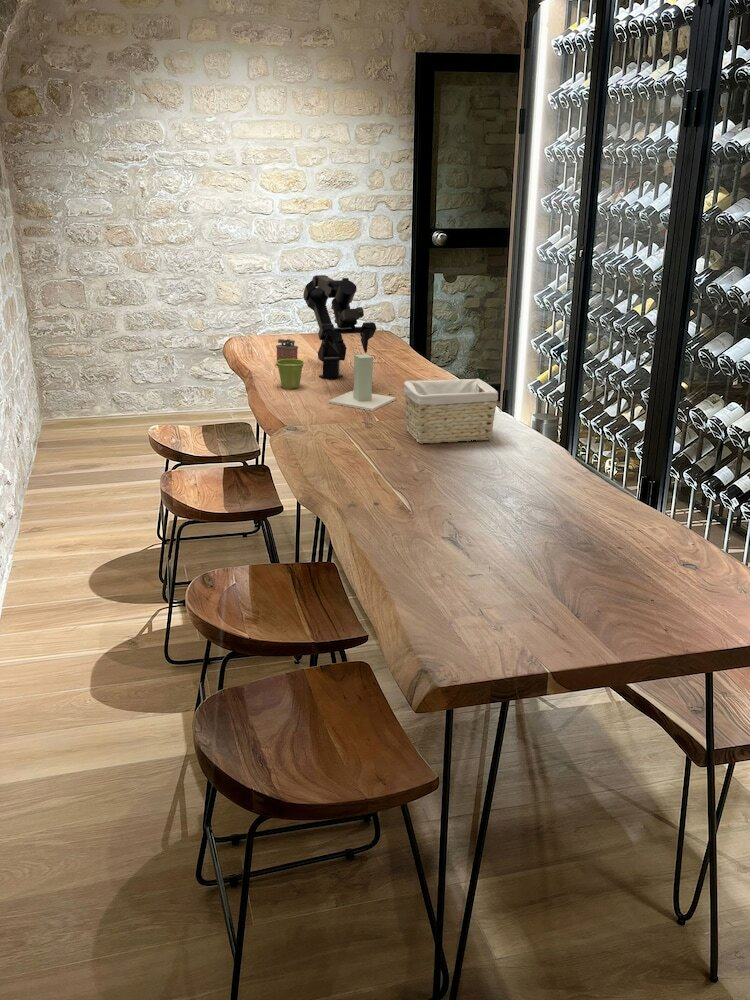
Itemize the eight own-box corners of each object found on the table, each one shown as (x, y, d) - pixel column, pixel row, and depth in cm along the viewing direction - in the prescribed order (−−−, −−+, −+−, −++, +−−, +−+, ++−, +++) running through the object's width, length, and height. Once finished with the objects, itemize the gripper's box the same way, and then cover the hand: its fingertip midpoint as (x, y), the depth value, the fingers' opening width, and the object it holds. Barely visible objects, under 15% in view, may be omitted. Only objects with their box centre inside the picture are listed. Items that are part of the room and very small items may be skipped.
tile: (353, 392, 290) (353, 390, 289) (395, 399, 283) (395, 397, 282) (328, 403, 276) (328, 400, 276) (372, 411, 270) (372, 408, 269)
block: (366, 396, 282) (367, 354, 277) (371, 400, 278) (373, 357, 273) (353, 397, 280) (354, 355, 275) (358, 401, 276) (359, 358, 271)
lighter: (298, 365, 323) (298, 338, 320) (297, 367, 320) (297, 340, 316) (277, 364, 324) (277, 337, 320) (275, 366, 321) (275, 339, 317)
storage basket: (414, 446, 239) (417, 394, 234) (399, 429, 254) (402, 379, 248) (496, 442, 244) (501, 391, 239) (477, 426, 259) (481, 377, 254)
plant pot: (300, 391, 289) (300, 365, 285) (272, 389, 290) (272, 363, 287) (307, 384, 297) (307, 359, 294) (281, 382, 299) (281, 357, 296)
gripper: (321, 299, 279) (331, 340, 274) (375, 297, 285) (386, 337, 280) (313, 319, 289) (323, 359, 283) (366, 317, 295) (376, 356, 290)
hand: (352, 352), depth 284 cm, fingers open, 9 cm apart
